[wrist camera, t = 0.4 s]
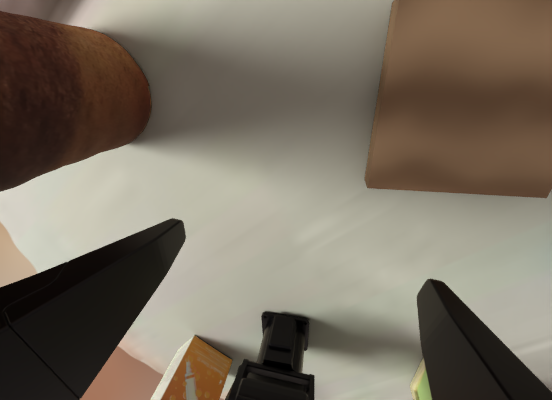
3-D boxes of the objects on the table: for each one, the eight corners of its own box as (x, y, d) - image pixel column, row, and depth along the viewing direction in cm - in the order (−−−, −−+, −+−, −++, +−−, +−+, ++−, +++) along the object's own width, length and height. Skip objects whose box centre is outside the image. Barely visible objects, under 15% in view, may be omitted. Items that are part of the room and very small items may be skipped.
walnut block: (527, 187, 20) (546, 197, 18) (364, 179, 22) (367, 187, 21) (627, -15, 14) (670, -28, 12) (392, 2, 16) (399, -6, 15)
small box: (233, 359, 41) (197, 469, 29) (215, 371, 43) (175, 475, 32) (194, 333, 39) (139, 438, 28) (178, 347, 42) (123, 447, 31)
